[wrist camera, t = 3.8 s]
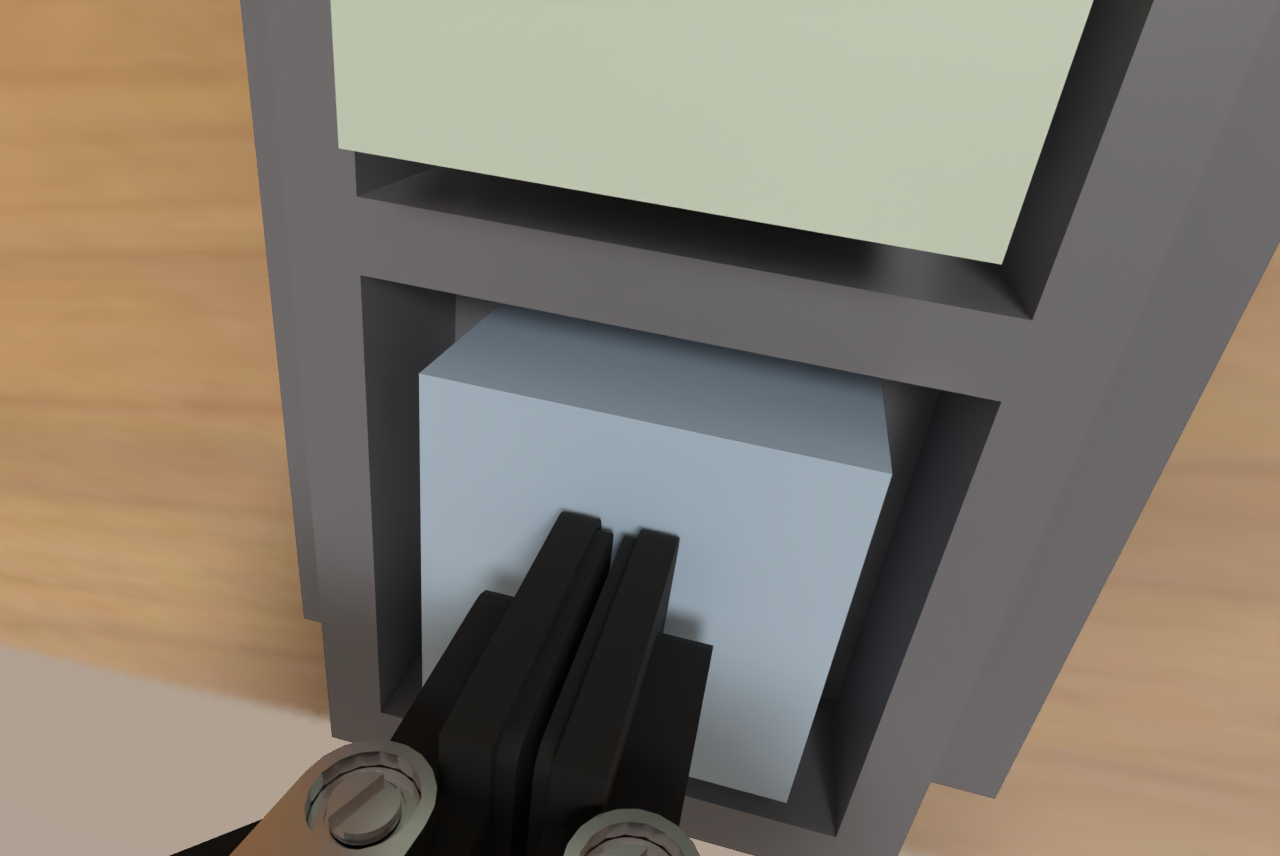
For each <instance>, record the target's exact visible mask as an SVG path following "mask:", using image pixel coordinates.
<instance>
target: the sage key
mask: <svg viewBox="0 0 1280 856" xmlns="http://www.w3.org/2000/svg"><path fill="white" fill-rule="evenodd" d="M330 2H331V20H332V38H333V56H334V74H335V92H336V110H337V128H338V146H339V148H340V149H345V150H351V151H357V152H363V153H368V154H374V155H380V156H385V157H391V158H397V159H402V160H408V161H414V162H420V163H425V164H431V165H437V166H442V167H448V168H454V169H459V170H465V171H471V172H477V173H482V174H488V175H494V176H499V177H505V178H511V179H516V180H522V181H528V182H534V183H539V184H545V185H551V186H556V187H562V188H568V189H573V190H579V191H585V192H591V193H596V194H602V195H608V196H613V197H619V198H625V199H630V200H636V201H642V202H648V203H653V204H659V205H665V206H670V207H676V208H682V209H687V210H693V211H699V212H705V213H710V214H716V215H722V216H727V217H733V218H739V219H744V220H750V221H756V222H762V223H767V224H773V225H779V226H784V227H790V228H796V229H801V230H807V231H813V232H819V233H824V234H830V235H836V236H841V237H847V238H853V239H858V240H864V241H870V242H876V243H881V244H887V245H893V246H898V247H904V248H910V249H915V250H921V251H927V252H933V253H938V254H944V255H950V256H955V257H961V258H967V259H972V260H978V261H984V262H990V263H995V264H1001V265H1002V262H1003V259H1004V256H1005V254H1006V251H1007V248H1008V245H1009V242H1010V239H1011V236H1012V233H1013V231H1014V228H1015V225H1016V222H1017V219H1018V216H1019V213H1020V210H1021V208H1022V205H1023V202H1024V199H1025V196H1026V193H1027V190H1028V187H1029V184H1030V182H1031V179H1032V176H1033V173H1034V170H1035V167H1036V164H1037V161H1038V159H1039V156H1040V153H1041V150H1042V147H1043V144H1044V141H1045V138H1046V136H1047V133H1048V130H1049V127H1050V124H1051V121H1052V118H1053V115H1054V113H1055V110H1056V107H1057V104H1058V101H1059V98H1060V95H1061V92H1062V90H1063V87H1064V84H1065V81H1066V78H1067V75H1068V72H1069V69H1070V67H1071V64H1072V61H1073V58H1074V55H1075V52H1076V49H1077V46H1078V44H1079V41H1080V38H1081V35H1082V32H1083V29H1084V26H1085V23H1086V21H1087V18H1088V15H1089V12H1090V9H1091V6H1092V3H1093V0H330Z"/></svg>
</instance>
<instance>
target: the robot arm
mask: <svg viewBox="0 0 1280 856" xmlns="http://www.w3.org/2000/svg"><path fill="white" fill-rule="evenodd" d="M601 526H602V525H601V520H600V519H596V518H592V517H587V516H583V515H579V514H574V513H570V512H566V511H563V512H561V513H560V515H559V516H558V518H557V520H556V522H555V524H554V525H553V527H552V529H551V531H550V533H549V535H548V536H547V538H546V540H545V542H544V544H543V545H542V547H541V549H540V551H539V553H538V555H537V556H536V558H535V560H534V562H533V564H532V566H531V567H530V569H529V571H528V573H527V575H526V576H525V578H524V580H523V582H522V584H521V586H520V587H519V589H518V591H517V593H516V595H515V596H514V597H513V596H509V595H505V594H501V593H497V592H493V591H489V590H485V591H483V592H482V593H481V594H480V595H479V597H478V598H477V599H476V601H475V602H474V604H473V606H472V607H471V609H470V610H469V612H468V614H467V615H466V617H465V619H464V620H463V622H462V624H461V625H460V627H459V628H458V630H457V632H456V633H455V635H454V637H453V638H452V640H451V641H450V643H449V645H448V646H447V648H446V650H445V651H444V653H443V655H442V656H441V658H440V659H439V661H438V663H437V664H436V666H435V668H434V669H433V671H432V673H431V674H430V676H429V677H428V679H427V681H426V682H425V684H424V686H423V687H422V689H421V691H420V692H419V694H418V695H417V697H416V699H415V700H414V702H413V704H412V705H411V707H410V708H409V710H408V712H407V713H406V715H405V717H404V718H403V720H402V722H401V723H400V725H399V726H398V728H397V730H396V731H395V733H394V735H393V736H392V738H391V740H390V741H389V740H364V741H360V742H356V743H352V744H349V745H344V746H342V747H341V748H338V749H336V750H335V751H333V752H331V753H329V754H327V755H325V756H323V757H322V758H321V759H320V760H319V761H317V762H316V763H315V764H314V765H313V766H312V767H310V768H309V769H308V770H307V771H306V772H305V773H304V774H303V775H302V776H301V777H300V778H299V780H298V781H297V782H296V783H295V784H294V785H293V786H292V787H291V788H290V789H289V791H288V792H287V793H286V794H285V795H284V796H283V797H282V798H281V799H280V801H279V802H278V803H277V804H276V805H275V806H274V807H273V808H272V809H271V810H270V811H269V813H268V814H267V815H266V816H265V817H264V818H263V819H261V820H259V821H256V822H254V823H251V824H249V825H247V826H244V827H241V828H239V829H236V830H234V831H232V832H229V833H226V834H223V835H221V836H219V837H216V838H214V839H211V840H209V841H206V842H203V843H201V844H198V845H196V846H193V847H191V848H188V849H185V850H183V851H180V852H178V853H175V854H173V855H170V856H700V855H699V853H698V851H697V849H696V847H695V845H694V843H693V842H692V841H691V840H690V839H689V837H688V836H687V835H686V834H685V833H684V832H683V831H682V830H681V829H680V828H679V825H680V819H681V814H682V809H683V804H684V798H685V793H686V788H687V783H688V777H689V772H690V767H691V762H692V756H693V751H694V746H695V741H696V735H697V730H698V725H699V719H700V714H701V709H702V704H703V698H704V693H705V688H706V683H707V677H708V672H709V667H710V662H711V656H712V651H713V645H709V644H705V643H701V642H697V641H693V640H689V639H685V638H681V637H677V636H673V635H669V634H664V633H663V632H664V626H665V620H666V615H667V609H668V604H669V598H670V593H671V587H672V582H673V576H674V571H675V565H676V560H677V554H678V548H679V542H680V538H679V537H675V536H671V535H666V534H662V533H657V532H653V531H649V530H644V529H642V530H641V531H640V533H639V536H638V538H632V537H628V536H624V537H623V539H622V542H621V544H620V547H619V549H618V552H617V554H616V556H615V559H614V561H613V564H612V566H611V569H610V561H611V553H612V546H613V533H611V532H606V531H602V530H601ZM609 569H610V571H609Z"/></svg>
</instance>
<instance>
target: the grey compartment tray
mask: <svg viewBox="0 0 1280 856" xmlns="http://www.w3.org/2000/svg"><path fill="white" fill-rule="evenodd" d="M240 2H241V12H242V22H243V31H244V41H245V51H246V60H247V70H248V80H249V89H250V99H251V109H252V118H253V128H254V138H255V148H256V157H257V167H258V177H259V186H260V196H261V206H262V215H263V225H264V235H265V244H266V254H267V264H268V273H269V283H270V293H271V302H272V312H273V322H274V331H275V341H276V351H277V360H278V370H279V380H280V389H281V399H282V409H283V418H284V428H285V438H286V448H287V457H288V467H289V477H290V486H291V496H292V506H293V515H294V525H295V535H296V544H297V554H298V564H299V573H300V583H301V593H302V602H303V612H304V618H305V619H309V620H313V621H316V622H320V623H322V631H323V642H324V653H325V665H326V676H327V687H328V698H329V709H330V720H331V731H332V737H335V738H338V739H342V740H345V741H349V742H352V743H356V742H360V741H364V740H389V741H390V740H391V738H392V736H393V735H394V733H395V731H396V730H397V728H398V726H399V725H400V723H401V722H402V720H403V718H404V717H405V715H406V713H407V712H408V710H409V708H410V707H411V705H412V704H413V702H414V700H415V699H416V697H417V695H418V694H419V692H420V691H421V689H422V602H421V511H420V421H419V373H420V372H421V371H423V370H424V369H425V368H426V367H427V366H428V365H430V364H431V363H432V362H433V361H434V360H435V359H437V358H438V357H439V356H440V355H441V354H443V353H444V352H445V351H446V350H447V349H448V348H450V347H451V346H452V345H453V344H454V343H455V342H457V341H458V340H459V339H460V338H461V337H462V336H464V335H465V334H466V333H467V332H468V331H469V330H471V329H472V328H473V327H474V326H475V325H477V324H478V323H479V322H480V321H481V320H482V319H484V318H485V317H486V316H487V315H488V314H489V313H491V312H492V311H493V310H494V309H495V308H496V307H498V306H499V305H500V304H501V303H504V304H509V305H514V306H519V307H524V308H529V309H534V310H539V311H544V312H549V313H554V314H560V315H565V316H570V317H575V318H580V319H585V320H590V321H595V322H600V323H605V324H610V325H615V326H620V327H625V328H630V329H635V330H641V331H646V332H651V333H656V334H661V335H666V336H671V337H676V338H681V339H686V340H691V341H696V342H701V343H706V344H711V345H717V346H722V347H727V348H732V349H737V350H742V351H747V352H752V353H757V354H762V355H767V356H772V357H777V358H782V359H787V360H793V361H798V362H803V363H808V364H813V365H818V366H823V367H828V368H833V369H838V370H843V371H848V372H853V373H858V374H863V375H869V376H874V377H879V378H881V385H882V393H883V401H884V410H885V418H886V426H887V434H888V443H889V451H890V459H891V467H892V477H891V480H890V483H889V486H888V489H887V492H886V495H885V499H884V502H883V505H882V508H881V511H880V514H879V517H878V520H877V523H876V527H875V530H874V533H873V536H872V539H871V542H870V545H869V548H868V551H867V554H866V558H865V561H864V564H863V567H862V570H861V573H860V576H859V579H858V582H857V586H856V589H855V592H854V595H853V598H852V601H851V604H850V607H849V610H848V613H847V617H846V620H845V623H844V626H843V629H842V632H841V635H840V638H839V641H838V645H837V648H836V651H835V654H834V657H833V660H832V663H831V666H830V669H829V672H828V676H827V679H826V682H825V685H824V688H823V691H822V694H821V697H820V700H819V704H818V707H817V710H816V713H815V716H814V719H813V722H812V725H811V728H810V731H809V735H808V738H807V741H806V744H805V747H804V750H803V753H802V756H801V759H800V763H799V766H798V769H797V772H796V775H795V778H794V781H793V784H792V787H791V790H790V794H789V797H788V800H787V803H785V802H781V801H777V800H774V799H770V798H766V797H763V796H759V795H755V794H752V793H748V792H744V791H741V790H737V789H733V788H729V787H726V786H722V785H718V784H715V783H711V782H707V781H704V780H700V779H696V778H693V777H688V783H687V788H686V793H685V798H684V804H683V809H682V814H681V819H680V825H679V828H680V829H681V830H682V831H683V832H684V833H685V834H686V835H687V836H688V837H690V838H694V839H697V840H701V841H704V842H708V843H711V844H715V845H719V846H722V847H726V848H729V849H733V850H736V851H740V852H744V853H747V854H751V855H754V856H898V854H899V852H900V849H901V847H902V845H903V843H904V841H905V838H906V836H907V834H908V832H909V829H910V827H911V825H912V823H913V820H914V818H915V816H916V814H917V811H918V809H919V807H920V805H921V802H922V800H923V798H924V796H925V793H926V791H927V789H928V787H929V784H930V782H933V783H936V784H940V785H944V786H948V787H952V788H956V789H959V790H963V791H967V792H971V793H975V794H979V795H982V796H986V797H990V798H994V799H995V798H996V796H997V794H998V792H999V790H1000V788H1001V786H1002V784H1003V782H1004V780H1005V778H1006V776H1007V774H1008V772H1009V770H1010V768H1011V766H1012V764H1013V762H1014V760H1015V758H1016V757H1017V755H1018V753H1019V751H1020V749H1021V747H1022V745H1023V743H1024V741H1025V739H1026V737H1027V735H1028V733H1029V731H1030V729H1031V727H1032V725H1033V723H1034V721H1035V719H1036V717H1037V715H1038V714H1039V712H1040V710H1041V708H1042V706H1043V704H1044V702H1045V700H1046V698H1047V696H1048V694H1049V692H1050V690H1051V688H1052V686H1053V684H1054V682H1055V680H1056V678H1057V676H1058V674H1059V672H1060V670H1061V669H1062V667H1063V665H1064V663H1065V661H1066V659H1067V657H1068V655H1069V653H1070V651H1071V649H1072V647H1073V645H1074V643H1075V641H1076V639H1077V637H1078V635H1079V633H1080V631H1081V629H1082V627H1083V626H1084V624H1085V622H1086V620H1087V618H1088V616H1089V614H1090V612H1091V610H1092V608H1093V606H1094V604H1095V602H1096V600H1097V598H1098V596H1099V594H1100V592H1101V590H1102V588H1103V586H1104V584H1105V582H1106V581H1107V579H1108V577H1109V575H1110V573H1111V571H1112V569H1113V567H1114V565H1115V563H1116V561H1117V559H1118V557H1119V555H1120V553H1121V551H1122V549H1123V547H1124V545H1125V543H1126V541H1127V539H1128V538H1129V536H1130V534H1131V532H1132V530H1133V528H1134V526H1135V524H1136V522H1137V520H1138V518H1139V516H1140V514H1141V512H1142V510H1143V508H1144V506H1145V504H1146V502H1147V500H1148V498H1149V496H1150V495H1151V493H1152V491H1153V489H1154V487H1155V485H1156V483H1157V481H1158V479H1159V477H1160V475H1161V473H1162V471H1163V469H1164V467H1165V465H1166V463H1167V461H1168V459H1169V457H1170V455H1171V453H1172V451H1173V450H1174V448H1175V446H1176V444H1177V442H1178V440H1179V438H1180V436H1181V434H1182V432H1183V430H1184V428H1185V426H1186V424H1187V422H1188V420H1189V418H1190V416H1191V414H1192V412H1193V410H1194V408H1195V407H1196V405H1197V403H1198V401H1199V399H1200V397H1201V395H1202V393H1203V391H1204V389H1205V387H1206V385H1207V383H1208V381H1209V379H1210V377H1211V375H1212V373H1213V371H1214V369H1215V367H1216V365H1217V364H1218V362H1219V360H1220V358H1221V356H1222V354H1223V352H1224V350H1225V348H1226V346H1227V344H1228V342H1229V340H1230V338H1231V336H1232V334H1233V332H1234V330H1235V328H1236V326H1237V324H1238V322H1239V320H1240V319H1241V317H1242V315H1243V313H1244V311H1245V309H1246V307H1247V305H1248V303H1249V301H1250V299H1251V297H1252V295H1253V293H1254V291H1255V289H1256V287H1257V285H1258V283H1259V281H1260V279H1261V277H1262V276H1263V274H1264V272H1265V270H1266V268H1267V266H1268V264H1269V262H1270V260H1271V258H1272V256H1273V254H1274V252H1275V250H1276V248H1277V246H1278V244H1279V242H1280V0H1093V3H1092V6H1091V9H1090V12H1089V15H1088V18H1087V21H1086V23H1085V26H1084V29H1083V32H1082V35H1081V38H1080V41H1079V44H1078V46H1077V49H1076V52H1075V55H1074V58H1073V61H1072V64H1071V67H1070V69H1069V72H1068V75H1067V78H1066V81H1065V84H1064V87H1063V90H1062V92H1061V95H1060V98H1059V101H1058V104H1057V107H1056V110H1055V113H1054V115H1053V118H1052V121H1051V124H1050V127H1049V130H1048V133H1047V136H1046V138H1045V141H1044V144H1043V147H1042V150H1041V153H1040V156H1039V159H1038V161H1037V164H1036V167H1035V170H1034V173H1033V176H1032V179H1031V182H1030V184H1029V187H1028V190H1027V193H1026V196H1025V199H1024V202H1023V205H1022V208H1021V210H1020V213H1019V216H1018V219H1017V222H1016V225H1015V228H1014V231H1013V233H1012V236H1011V239H1010V242H1009V245H1008V248H1007V251H1006V254H1005V256H1004V259H1003V262H1002V265H1001V264H995V263H990V262H984V261H978V260H972V259H967V258H961V257H955V256H950V255H944V254H938V253H933V252H927V251H921V250H915V249H910V248H904V247H898V246H893V245H887V244H881V243H876V242H870V241H864V240H858V239H853V238H847V237H841V236H836V235H830V234H824V233H819V232H813V231H807V230H801V229H796V228H790V227H784V226H779V225H773V224H767V223H762V222H756V221H750V220H744V219H739V218H733V217H727V216H722V215H716V214H710V213H705V212H699V211H693V210H687V209H682V208H676V207H670V206H665V205H659V204H653V203H648V202H642V201H636V200H630V199H625V198H619V197H613V196H608V195H602V194H596V193H591V192H585V191H579V190H573V189H568V188H562V187H556V186H551V185H545V184H539V183H534V182H528V181H522V180H516V179H511V178H505V177H499V176H494V175H488V174H482V173H477V172H471V171H465V170H459V169H454V168H448V167H442V166H437V165H431V164H425V163H420V162H414V161H408V160H402V159H397V158H391V157H385V156H380V155H374V154H368V153H363V152H357V151H351V150H345V149H340V148H339V146H338V128H337V110H336V92H335V74H334V56H333V38H332V20H331V2H330V0H240Z"/></svg>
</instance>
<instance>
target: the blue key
mask: <svg viewBox="0 0 1280 856" xmlns="http://www.w3.org/2000/svg"><path fill="white" fill-rule="evenodd" d="M419 421H420V511H421V602H422V687H423V686H424V684H425V682H426V681H427V679H428V677H429V676H430V674H431V673H432V671H433V669H434V668H435V666H436V664H437V663H438V661H439V659H440V658H441V656H442V655H443V653H444V651H445V650H446V648H447V646H448V645H449V643H450V641H451V640H452V638H453V637H454V635H455V633H456V632H457V630H458V628H459V627H460V625H461V624H462V622H463V620H464V619H465V617H466V615H467V614H468V612H469V610H470V609H471V607H472V606H473V604H474V602H475V601H476V599H477V598H478V597H479V595H480V594H481V593H482V592H483V591H485V590H489V591H493V592H497V593H501V594H505V595H509V596H513V597H514V596H515V595H516V593H517V591H518V589H519V587H520V586H521V584H522V582H523V580H524V578H525V576H526V575H527V573H528V571H529V569H530V567H531V566H532V564H533V562H534V560H535V558H536V556H537V555H538V553H539V551H540V549H541V547H542V545H543V544H544V542H545V540H546V538H547V536H548V535H549V533H550V531H551V529H552V527H553V525H554V524H555V522H556V520H557V518H558V516H559V515H560V513H561V512H563V511H566V512H570V513H574V514H579V515H583V516H587V517H592V518H596V519H600V520H601V525H602V526H601V530H602V531H606V532H611V533H613V546H612V553H611V561H610V569H611V566H612V564H613V561H614V559H615V556H616V554H617V552H618V549H619V547H620V544H621V542H622V539H623V537H624V536H628V537H632V538H638V536H639V533H640V531H641V530H642V529H644V530H649V531H653V532H657V533H662V534H666V535H671V536H675V537H679V538H680V542H679V548H678V554H677V560H676V565H675V571H674V576H673V582H672V587H671V593H670V598H669V604H668V609H667V615H666V620H665V626H664V632H663V633H664V634H669V635H673V636H677V637H681V638H685V639H689V640H693V641H697V642H701V643H705V644H709V645H713V651H712V656H711V662H710V667H709V672H708V677H707V683H706V688H705V693H704V698H703V704H702V709H701V714H700V719H699V725H698V730H697V735H696V741H695V746H694V751H693V756H692V762H691V767H690V772H689V777H693V778H696V779H700V780H704V781H707V782H711V783H715V784H718V785H722V786H726V787H729V788H733V789H737V790H741V791H744V792H748V793H752V794H755V795H759V796H763V797H766V798H770V799H774V800H777V801H781V802H785V803H787V800H788V797H789V794H790V790H791V787H792V784H793V781H794V778H795V775H796V772H797V769H798V766H799V763H800V759H801V756H802V753H803V750H804V747H805V744H806V741H807V738H808V735H809V731H810V728H811V725H812V722H813V719H814V716H815V713H816V710H817V707H818V704H819V700H820V697H821V694H822V691H823V688H824V685H825V682H826V679H827V676H828V672H829V669H830V666H831V663H832V660H833V657H834V654H835V651H836V648H837V645H838V641H839V638H840V635H841V632H842V629H843V626H844V623H845V620H846V617H847V613H848V610H849V607H850V604H851V601H852V598H853V595H854V592H855V589H856V586H857V582H858V579H859V576H860V573H861V570H862V567H863V564H864V561H865V558H866V554H867V551H868V548H869V545H870V542H871V539H872V536H873V533H874V530H875V527H876V523H877V520H878V517H879V514H880V511H881V508H882V505H883V502H884V499H885V495H886V492H887V489H888V486H889V483H890V480H891V477H892V467H891V459H890V451H889V443H888V434H887V426H886V418H885V410H884V401H883V393H882V385H881V378H879V377H874V376H869V375H863V374H858V373H853V372H848V371H843V370H838V369H833V368H828V367H823V366H818V365H813V364H808V363H803V362H798V361H793V360H787V359H782V358H777V357H772V356H767V355H762V354H757V353H752V352H747V351H742V350H737V349H732V348H727V347H722V346H717V345H711V344H706V343H701V342H696V341H691V340H686V339H681V338H676V337H671V336H666V335H661V334H656V333H651V332H646V331H641V330H635V329H630V328H625V327H620V326H615V325H610V324H605V323H600V322H595V321H590V320H585V319H580V318H575V317H570V316H565V315H560V314H554V313H549V312H544V311H539V310H534V309H529V308H524V307H519V306H514V305H509V304H504V303H501V304H500V305H499V306H498V307H496V308H495V309H494V310H493V311H492V312H491V313H489V314H488V315H487V316H486V317H485V318H484V319H482V320H481V321H480V322H479V323H478V324H477V325H475V326H474V327H473V328H472V329H471V330H469V331H468V332H467V333H466V334H465V335H464V336H462V337H461V338H460V339H459V340H458V341H457V342H455V343H454V344H453V345H452V346H451V347H450V348H448V349H447V350H446V351H445V352H444V353H443V354H441V355H440V356H439V357H438V358H437V359H435V360H434V361H433V362H432V363H431V364H430V365H428V366H427V367H426V368H425V369H424V370H423V371H421V372H420V373H419ZM610 569H609V571H610Z"/></svg>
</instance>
